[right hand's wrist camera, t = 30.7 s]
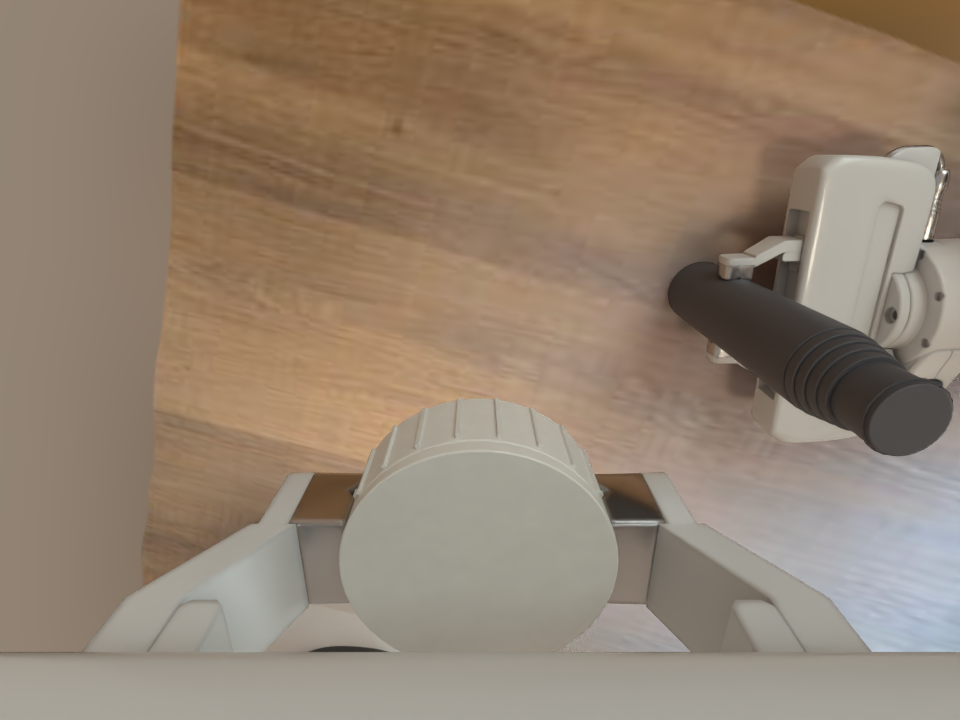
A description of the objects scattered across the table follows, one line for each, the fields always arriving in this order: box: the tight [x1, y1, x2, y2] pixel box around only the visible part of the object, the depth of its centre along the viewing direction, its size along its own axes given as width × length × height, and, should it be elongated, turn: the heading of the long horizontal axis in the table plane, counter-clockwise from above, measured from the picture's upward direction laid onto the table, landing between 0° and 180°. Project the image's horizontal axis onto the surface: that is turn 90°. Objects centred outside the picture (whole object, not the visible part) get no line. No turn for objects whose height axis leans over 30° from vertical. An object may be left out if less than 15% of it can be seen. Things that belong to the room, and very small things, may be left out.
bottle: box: [669, 262, 953, 456], centre depth 31 cm, size 5×5×22 cm
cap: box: [339, 398, 619, 652], centre depth 9 cm, size 5×5×2 cm
